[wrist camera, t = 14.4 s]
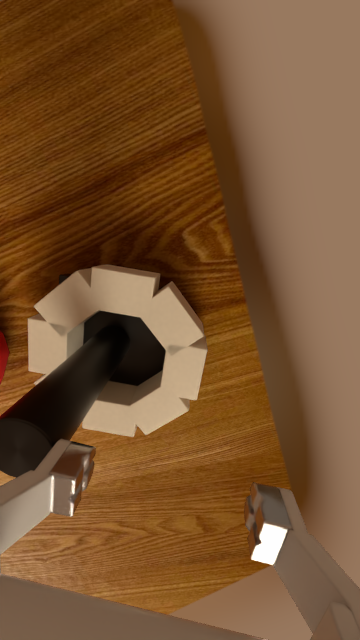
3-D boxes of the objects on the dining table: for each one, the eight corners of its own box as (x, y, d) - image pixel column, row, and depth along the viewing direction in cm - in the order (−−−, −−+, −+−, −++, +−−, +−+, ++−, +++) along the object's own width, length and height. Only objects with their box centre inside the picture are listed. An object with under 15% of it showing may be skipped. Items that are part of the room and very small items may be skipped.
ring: (216, 282, 19) (220, 288, 17) (187, 422, 23) (186, 447, 20) (51, 254, 20) (26, 255, 17) (49, 398, 23) (28, 419, 20)
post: (180, 294, 21) (159, 362, 8) (162, 394, 24) (125, 557, 11) (66, 273, 21) (-126, 308, 8) (61, 375, 24) (-88, 516, 11)
